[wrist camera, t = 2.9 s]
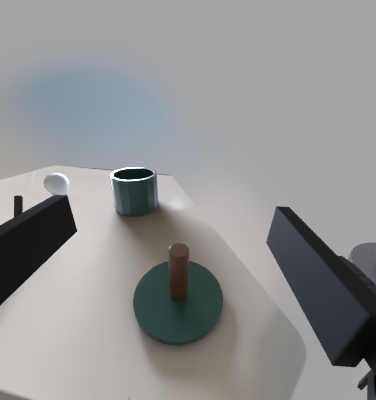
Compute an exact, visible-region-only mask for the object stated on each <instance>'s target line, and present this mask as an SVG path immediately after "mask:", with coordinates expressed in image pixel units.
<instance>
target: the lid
mask: <svg viewBox="0 0 376 400" xmlns="http://www.w3.org/2000/svg"><path fill="white" fill-rule="evenodd" d="M168 258H169V261H168V262H164V263H162V264H159V265H157V266H155V267H154V268H152V269H151V270H149V271H148V272H147V273H146V274H145V275H144V276H143V277H142V279H141V280H140V282H139V283H138V285H137V288H136V290H135V293H134V299H133V306H134V312H135V316H136V319H137V321H138V323H139V325H140V326H141V328H142V329H143V330H144V331H145V332H146V333H147V334H148V335H149V336H151V337H152V338H154V339H156V340H157V341H160V342H163V343H166V344H172V345H181V344H187V343H191V342H194V341H196V340H198V339H200V338H202V337H203V336H205V335H206V334H207V333H208V332H209V331H210V330H211V329H212V328H213V327H214V326H215V324H216V322H217V321H218V319H219V316H220V313H221V310H222V302H223V299H222V291H221V288H220V285H219V283H218V281H217V280H216V278H215V277H214V275H213V274H212V273H211V272H210V271H209V270H207V269H206V268H205V267H203V266H201V265H199V264H197V263H194V262H191V261H189V249H188V247H187V246H186V245H184V244H181V243H177V244H173V245H171V246H170V247H169V249H168Z"/></svg>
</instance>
